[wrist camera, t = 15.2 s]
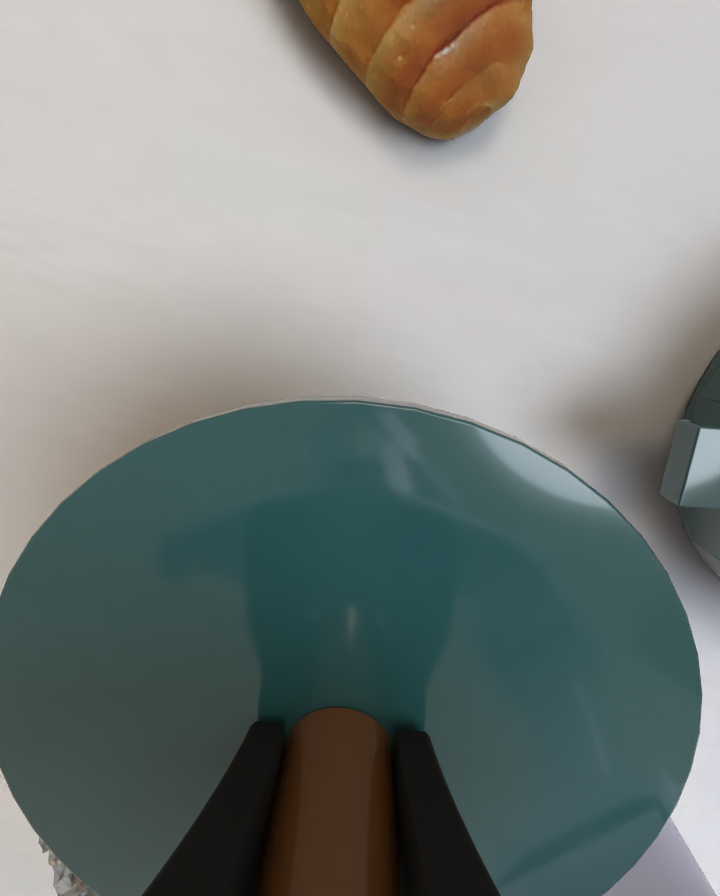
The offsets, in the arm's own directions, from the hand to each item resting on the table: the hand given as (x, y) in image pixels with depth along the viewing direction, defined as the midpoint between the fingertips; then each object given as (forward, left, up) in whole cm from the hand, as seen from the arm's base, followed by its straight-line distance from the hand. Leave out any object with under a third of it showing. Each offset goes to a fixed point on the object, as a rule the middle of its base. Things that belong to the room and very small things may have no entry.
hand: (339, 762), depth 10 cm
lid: (0, 0, -1) cm, 1 cm away
